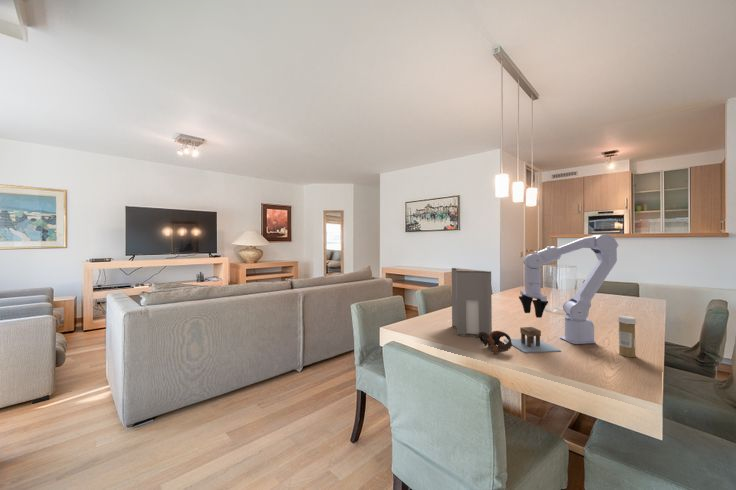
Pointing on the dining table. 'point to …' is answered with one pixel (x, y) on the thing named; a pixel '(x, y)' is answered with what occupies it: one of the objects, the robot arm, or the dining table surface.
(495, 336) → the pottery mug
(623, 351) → the sprinkles bottle
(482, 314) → the cabinet
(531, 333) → the walnut stool
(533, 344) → the felt mat
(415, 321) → the dining table surface
